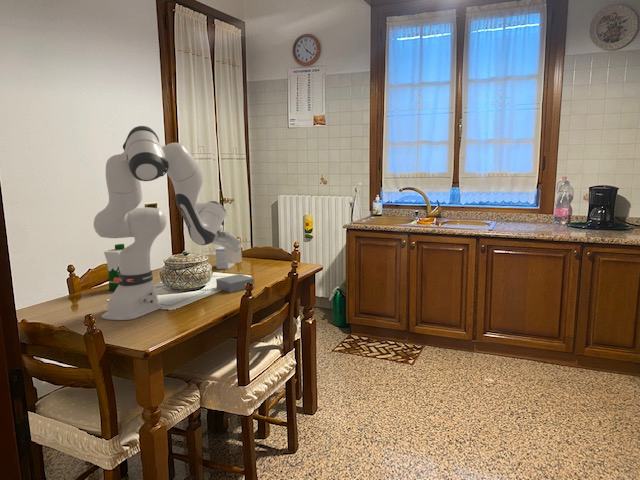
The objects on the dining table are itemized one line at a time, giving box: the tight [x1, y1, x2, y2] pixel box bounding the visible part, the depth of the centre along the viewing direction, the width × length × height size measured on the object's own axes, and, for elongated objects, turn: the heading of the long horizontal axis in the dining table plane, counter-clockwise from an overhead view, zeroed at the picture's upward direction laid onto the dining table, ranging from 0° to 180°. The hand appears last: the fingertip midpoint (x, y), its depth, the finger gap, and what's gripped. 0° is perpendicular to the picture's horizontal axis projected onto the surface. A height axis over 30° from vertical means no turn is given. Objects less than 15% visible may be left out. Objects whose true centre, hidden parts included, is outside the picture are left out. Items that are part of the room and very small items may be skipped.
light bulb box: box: [215, 245, 236, 270], centre depth 263 cm, size 11×7×11 cm, turn 172°
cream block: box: [225, 238, 243, 264], centre depth 218 cm, size 5×5×10 cm
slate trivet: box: [215, 273, 256, 294], centre depth 220 cm, size 12×12×4 cm
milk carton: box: [103, 243, 126, 292], centre depth 224 cm, size 9×9×20 cm
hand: (234, 249), depth 218 cm, fingers closed on cream block, 5 cm apart
